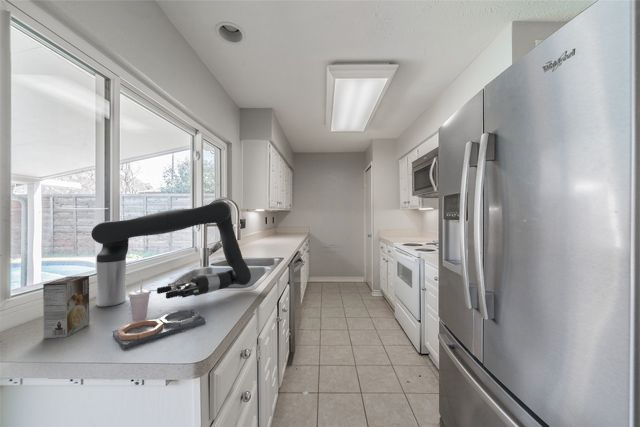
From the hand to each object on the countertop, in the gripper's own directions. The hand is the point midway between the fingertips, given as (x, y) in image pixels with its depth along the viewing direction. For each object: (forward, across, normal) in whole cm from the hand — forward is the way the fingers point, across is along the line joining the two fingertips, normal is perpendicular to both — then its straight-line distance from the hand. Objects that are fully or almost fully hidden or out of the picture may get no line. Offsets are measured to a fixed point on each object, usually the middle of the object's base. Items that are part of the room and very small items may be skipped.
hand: (161, 293), depth 94 cm
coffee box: (+24, -7, +8) cm, 26 cm away
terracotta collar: (+10, +14, +6) cm, 18 cm away
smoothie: (+7, 0, +8) cm, 10 cm away
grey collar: (-1, +14, +6) cm, 15 cm away
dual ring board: (+5, +14, +8) cm, 17 cm away
